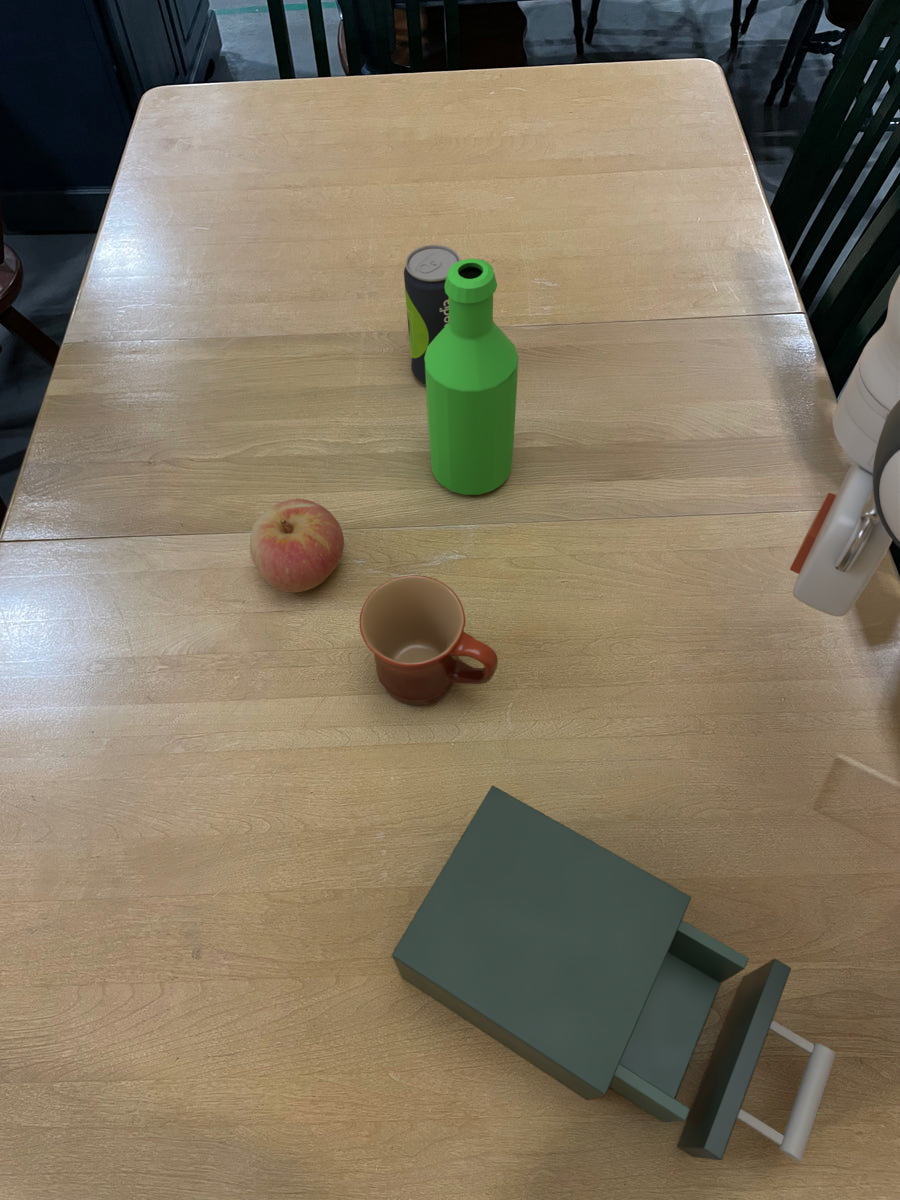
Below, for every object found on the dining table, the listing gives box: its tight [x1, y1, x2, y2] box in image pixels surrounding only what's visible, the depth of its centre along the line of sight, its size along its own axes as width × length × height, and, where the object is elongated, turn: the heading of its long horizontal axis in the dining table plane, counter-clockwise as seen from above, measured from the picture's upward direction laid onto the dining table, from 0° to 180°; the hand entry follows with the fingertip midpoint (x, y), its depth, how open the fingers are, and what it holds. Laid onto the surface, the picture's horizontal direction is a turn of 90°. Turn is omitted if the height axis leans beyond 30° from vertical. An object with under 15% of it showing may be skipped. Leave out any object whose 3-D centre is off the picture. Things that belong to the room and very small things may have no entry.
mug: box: [359, 574, 499, 707], centre depth 74 cm, size 12×9×10 cm
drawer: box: [608, 919, 836, 1163], centre depth 59 cm, size 20×13×8 cm, turn 59°
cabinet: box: [391, 785, 692, 1101], centre depth 62 cm, size 16×14×10 cm
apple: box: [249, 498, 345, 593], centre depth 82 cm, size 9×9×8 cm
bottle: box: [424, 258, 519, 496], centre depth 82 cm, size 9×9×25 cm
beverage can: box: [403, 244, 462, 385], centre depth 94 cm, size 6×6×15 cm
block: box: [789, 492, 837, 575], centre depth 62 cm, size 4×4×4 cm
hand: (836, 549), depth 63 cm, fingers closed on block, 4 cm apart
